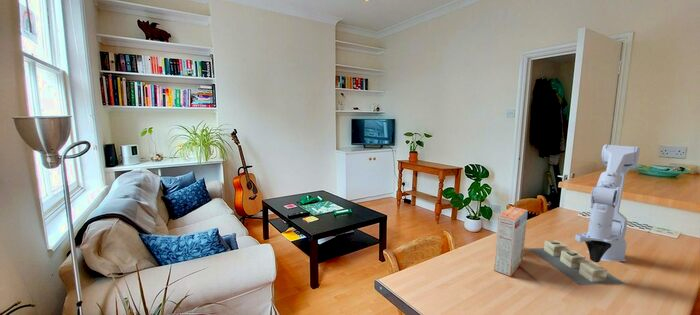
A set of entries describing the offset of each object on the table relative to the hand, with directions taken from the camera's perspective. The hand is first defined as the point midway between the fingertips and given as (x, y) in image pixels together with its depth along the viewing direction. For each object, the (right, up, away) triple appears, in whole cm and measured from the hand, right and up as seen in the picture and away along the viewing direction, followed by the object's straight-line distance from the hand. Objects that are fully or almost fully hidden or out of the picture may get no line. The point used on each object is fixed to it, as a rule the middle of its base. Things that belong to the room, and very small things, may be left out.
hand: (594, 260), depth 98 cm
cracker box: (-25, -5, +8) cm, 27 cm away
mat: (-1, -5, +9) cm, 11 cm away
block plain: (0, -6, +1) cm, 6 cm away
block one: (-1, -3, +18) cm, 18 cm away
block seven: (-1, -5, +9) cm, 10 cm away
